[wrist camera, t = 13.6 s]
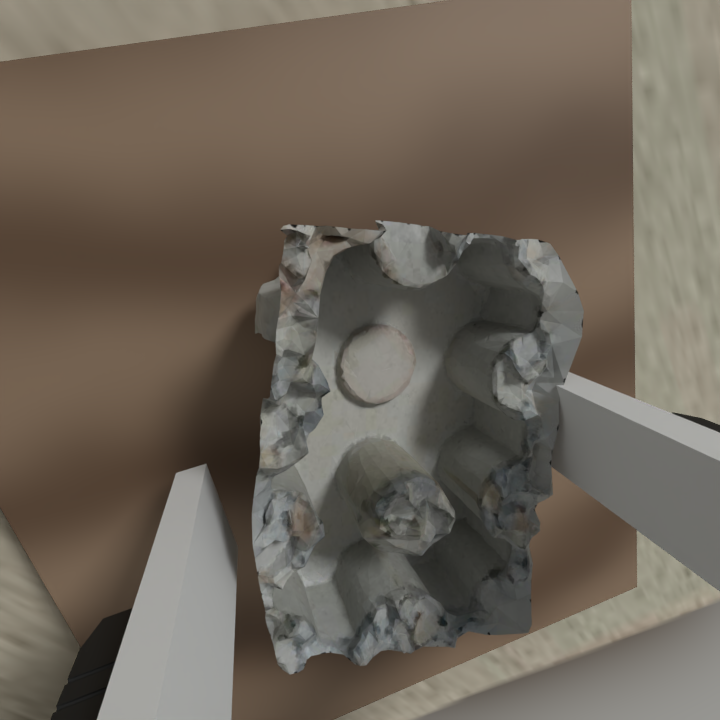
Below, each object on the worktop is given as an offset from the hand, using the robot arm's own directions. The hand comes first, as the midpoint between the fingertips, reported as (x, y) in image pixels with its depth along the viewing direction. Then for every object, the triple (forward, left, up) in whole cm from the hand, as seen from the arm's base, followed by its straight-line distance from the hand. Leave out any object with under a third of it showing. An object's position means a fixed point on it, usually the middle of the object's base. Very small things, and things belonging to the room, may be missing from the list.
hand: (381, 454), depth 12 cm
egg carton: (0, -2, -2) cm, 3 cm away
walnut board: (0, 0, -3) cm, 3 cm away
